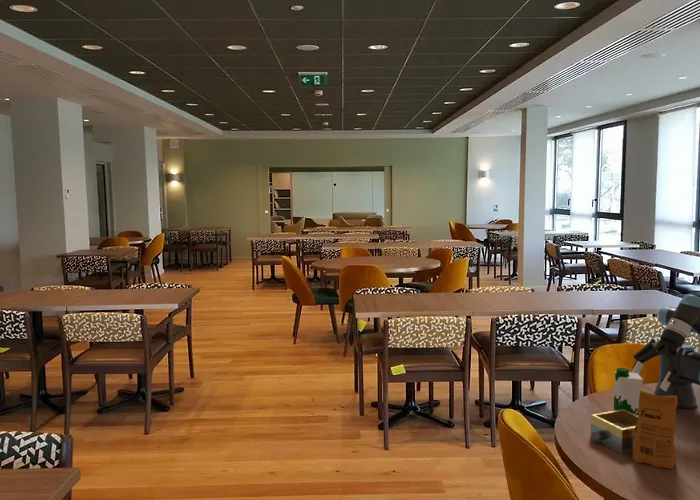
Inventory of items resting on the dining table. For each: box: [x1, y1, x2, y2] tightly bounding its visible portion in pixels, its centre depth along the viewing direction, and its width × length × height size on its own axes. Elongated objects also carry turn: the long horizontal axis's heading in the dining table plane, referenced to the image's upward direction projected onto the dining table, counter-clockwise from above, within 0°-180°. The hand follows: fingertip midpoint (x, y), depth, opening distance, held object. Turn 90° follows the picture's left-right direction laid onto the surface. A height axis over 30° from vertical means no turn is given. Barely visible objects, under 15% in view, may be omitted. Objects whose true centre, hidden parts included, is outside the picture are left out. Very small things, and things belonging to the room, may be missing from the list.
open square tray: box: [590, 409, 638, 455], centre depth 201 cm, size 17×14×8 cm
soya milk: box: [613, 367, 644, 416], centre depth 216 cm, size 9×9×20 cm
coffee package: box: [632, 390, 678, 469], centre depth 187 cm, size 10×12×22 cm
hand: (646, 383), depth 215 cm, fingers open, 13 cm apart
